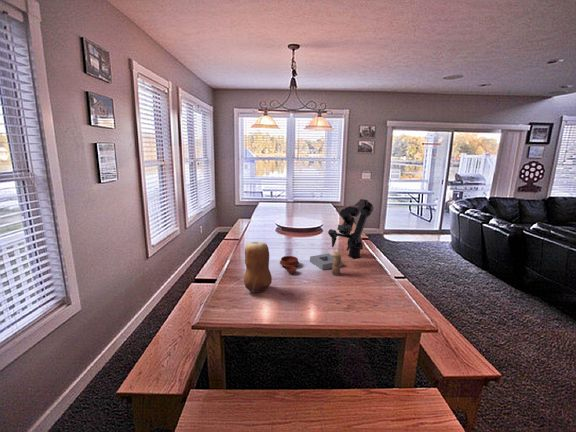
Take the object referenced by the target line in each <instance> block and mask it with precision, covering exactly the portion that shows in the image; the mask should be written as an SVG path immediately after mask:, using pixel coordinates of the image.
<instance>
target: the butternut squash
mask: <svg viewBox="0 0 576 432" xmlns="http://www.w3.org/2000/svg"><path fill="white" fill-rule="evenodd" d="M244 264H245V266H246V267H245V268H246V269H245V271H244V275H243V283H244V287H245V288H246V289H247V290H248V291H250V292H252V293H262V292H264V291H265V290H267V289H268V288H269V287H270V286H271V284H272V282H273V279H272V273H271V271H270V251H269V246H268V244H267V243H266V242H264V241H249V242H247V243H246V244H245V247H244Z"/></svg>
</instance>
